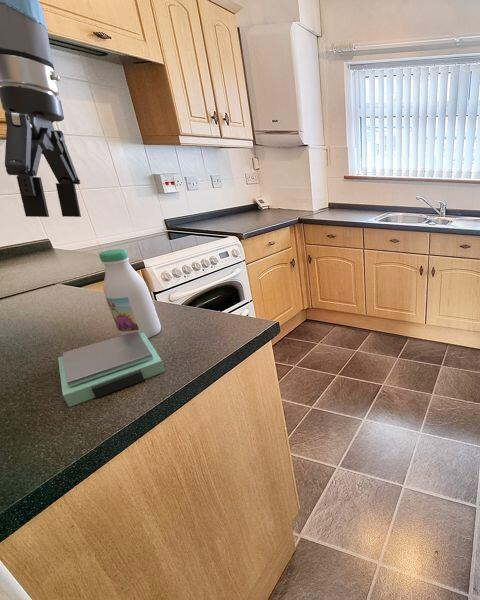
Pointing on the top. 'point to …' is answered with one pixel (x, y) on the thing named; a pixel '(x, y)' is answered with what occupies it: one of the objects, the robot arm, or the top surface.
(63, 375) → the scale
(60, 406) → the top surface
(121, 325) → the milk bottle
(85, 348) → the scale pan
